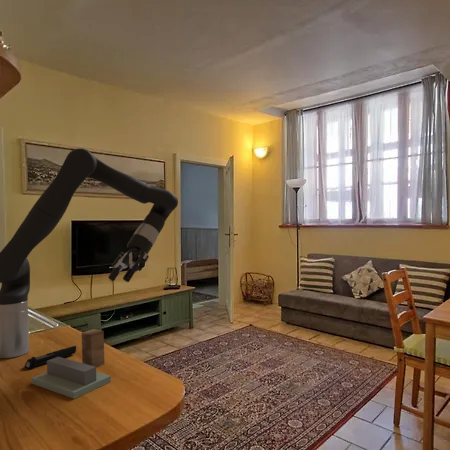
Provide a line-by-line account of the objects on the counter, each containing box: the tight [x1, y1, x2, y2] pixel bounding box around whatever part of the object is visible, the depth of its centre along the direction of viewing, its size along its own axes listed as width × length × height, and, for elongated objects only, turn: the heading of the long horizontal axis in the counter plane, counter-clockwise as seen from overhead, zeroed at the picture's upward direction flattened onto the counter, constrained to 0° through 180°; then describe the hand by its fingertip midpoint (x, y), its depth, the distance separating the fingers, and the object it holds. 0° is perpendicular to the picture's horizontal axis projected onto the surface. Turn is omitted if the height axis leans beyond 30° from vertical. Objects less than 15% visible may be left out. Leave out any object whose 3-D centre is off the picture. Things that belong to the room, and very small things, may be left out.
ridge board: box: [31, 357, 112, 400], centre depth 96 cm, size 18×11×5 cm, turn 58°
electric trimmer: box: [24, 345, 77, 370], centre depth 113 cm, size 4×16×3 cm, turn 141°
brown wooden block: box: [81, 328, 105, 368], centre depth 108 cm, size 4×4×10 cm
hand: (117, 280), depth 115 cm, fingers open, 8 cm apart
